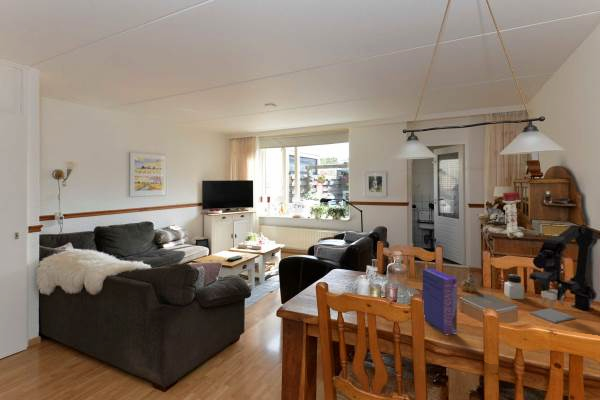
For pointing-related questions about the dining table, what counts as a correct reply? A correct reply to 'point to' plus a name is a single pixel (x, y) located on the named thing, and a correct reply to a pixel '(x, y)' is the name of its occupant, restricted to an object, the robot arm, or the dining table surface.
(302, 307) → the dining table surface
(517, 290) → the medicine bottle
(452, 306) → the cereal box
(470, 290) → the ornament
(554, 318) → the tile
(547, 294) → the stool
